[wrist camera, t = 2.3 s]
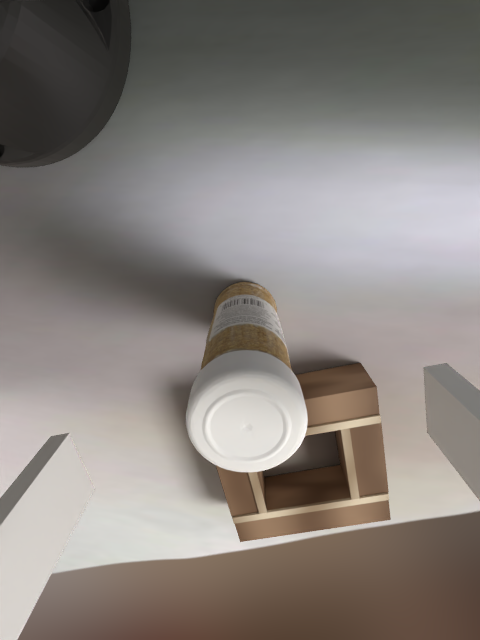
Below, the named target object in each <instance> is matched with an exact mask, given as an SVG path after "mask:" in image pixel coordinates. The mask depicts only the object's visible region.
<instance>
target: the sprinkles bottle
mask: <svg viewBox="0 0 480 640" xmlns="http://www.w3.org/2000/svg"><path fill="white" fill-rule="evenodd" d="M307 423H308V417H307V409H306V405H305V401H304V397H303V393H302V390H301V387H300V384H299V381H298V379H297V377H296V376H295V374H294V373H293V372H292V369H291V365H290V361H289V354H288V350H287V347H286V343H285V339H284V336H283V332H282V328H281V324H280V321H279V318H278V315H277V307H276V303H275V300H274V299H273V297H272V295H271V294H270V293H269V292H268V291H267V290H266V289H265V288H263V287H262V286H260V285H258V284H255V283H251V282H239V283H236V284H233V285H230V286H229V287H227V288H226V289H225V290H223V291H222V292H221V294H220V295H219V296H218V298H217V300H216V302H215V307H214V317H213V320H212V321H211V324H210V328H209V331H208V335H207V339H206V348H205V352H204V357H203V361H202V365H201V371H200V372H199V374H198V375H197V377H196V379H195V381H194V383H193V385H192V389H191V393H190V397H189V401H188V406H187V411H186V427H187V432H188V435H189V438H190V440H191V442H192V444H193V445H194V447H195V448H196V450H197V451H198V452H199V453H200V454H201V455H202V456H203V457H204V458H205V459H207V460H208V461H209V462H211V463H213V464H215V465H217V466H219V467H221V468H223V469H226V470H231V471H235V472H259V471H263V470H267V469H270V468H273V467H275V466H277V465H279V464H281V463H282V462H284V461H285V460H287V459H288V458H289V457H290V456H292V455H293V454H294V453H295V452H296V450H297V449H298V448H299V446H300V445H301V443H302V441H303V439H304V437H305V434H306V430H307Z"/></svg>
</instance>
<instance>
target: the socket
mask: <svg viewBox="0 0 480 640" xmlns="http://www.w3.org/2000/svg"><path fill="white" fill-rule="evenodd" d="M295 376H296V377H297V379H298V381H299V384H300V387H301V390H302V393H303V397H304V401H305V405H306V409H307V417H308V423H307V430H306V434H305V436H308V435H313V434H319V433H325V432H331V431H335V435H336V442H337V448H338V454H339V461H340V465H336V466H330V467H324V468H318V469H312V470H306V471H300V472H293V473H287V474H281V475H275V476H269V477H264V475H263V471H259V472H235V471H231V470H226V469H223V468H221V467H219V466H217V465H216V467H217V471H218V474H219V477H220V480H221V484H222V487H223V490H224V493H225V496H226V500H227V503H228V506H229V509H230V513H231V516H232V518H233V522H234V524H235V526H236V529H237V533H238V536H239V539H240V542H242V541H249V540H256V539H263V538H270V537H276V536H283V535H290V534H297V533H303V532H310V531H317V530H324V529H330V528H337V527H344V526H351V525H357V524H364V523H371V522H378V521H385V520H390V510H389V501H388V500H389V495H388V483H387V473H386V464H385V454H384V444H383V435H382V425H381V418H380V414H379V405H378V396H377V387H376V385H375V384H374V382H373V381H372V379H371V378H370V376H369V375H368V373H367V372H366V370H365V369H364V367H363V366H362V364H361V363H356V364H351V365H345V366H340V367H335V368H329V369H324V370H319V371H313V372H308V373H303V374H298V375H295Z"/></svg>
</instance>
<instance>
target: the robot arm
mask: <svg viewBox="0 0 480 640" xmlns="http://www.w3.org/2000/svg"><path fill="white" fill-rule="evenodd" d="M130 50H131V23H130V12H129V5H128V0H0V165H1V166H9V167H37V166H44V165H48V164H52V163H55V162H58V161H61V160H63V159H65V158H67V157H69V156H71V155H73V154H75V153H76V152H78V151H79V150H81V149H82V148H84V147H85V146H86V145H87V144H88V143H90V142H91V141H92V140H93V139H94V138H95V137H96V136H97V135H98V133H99V132H100V131H101V130H102V129H103V127H104V126H105V125H106V123H107V122H108V120H109V119H110V117H111V115H112V114H113V112H114V110H115V108H116V106H117V104H118V101H119V99H120V96H121V94H122V91H123V88H124V84H125V81H126V77H127V72H128V66H129V60H130ZM424 385H425V403H426V421H427V433H428V434H429V435H430V437H431V438H432V439H433V441H434V442H435V443H436V445H437V446H438V447H439V448H440V450H441V451H442V452H443V454H444V455H445V456H446V458H447V459H448V460H449V461H450V463H451V464H452V465H453V467H454V468H455V469H456V471H457V472H458V473H459V474H460V476H461V477H462V478H463V480H464V481H465V482H466V484H467V485H468V486H469V487H470V489H471V490H472V491H473V493H474V494H475V495H476V497H477V498H478V499H479V500H480V391H479V390H478V389H477V388H476V387H474V386H473V385H472V384H471V383H470V382H468V381H467V380H466V379H465V378H464V377H462V376H461V375H460V374H459V373H458V372H456V371H455V370H454V369H453V368H452V367H450V366H449V365H448V364H447V363H444V364H439V365H433V366H428V367H424ZM94 490H95V487H94V485H93V483H92V481H91V479H90V476H89V474H88V472H87V470H86V468H85V466H84V463H83V461H82V459H81V457H80V455H79V453H78V450H77V448H76V446H75V444H74V442H73V440H72V437H71V435H70V433H67V434H61V435H56V436H51V437H50V438H49V439H48V440H47V442H46V443H45V444H44V445H43V447H42V448H41V449H40V450H39V451H38V453H37V454H36V455H35V456H34V458H33V459H32V460H31V461H30V463H29V464H28V465H27V466H26V467H25V469H24V470H23V471H22V472H21V474H20V475H19V476H18V477H17V479H16V480H15V481H14V482H13V483H12V485H11V486H10V487H9V488H8V490H7V491H6V492H5V493H4V494H3V496H2V497H1V498H0V640H17V639H18V637H19V635H20V633H21V631H22V630H23V628H24V626H25V624H26V622H27V620H28V618H29V616H30V614H31V612H32V610H33V608H34V606H35V604H36V602H37V600H38V598H39V596H40V595H41V593H42V591H43V589H44V587H45V585H46V583H47V581H48V579H49V577H50V575H51V573H52V571H53V569H54V567H55V566H56V564H57V562H58V560H59V558H60V556H61V554H62V552H63V550H64V548H65V546H66V544H67V542H68V540H69V538H70V536H71V535H72V533H73V531H74V529H75V527H76V525H77V523H78V521H79V519H80V517H81V515H82V513H83V511H84V509H85V507H86V505H87V504H88V502H89V500H90V498H91V496H92V494H93V492H94Z"/></svg>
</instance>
